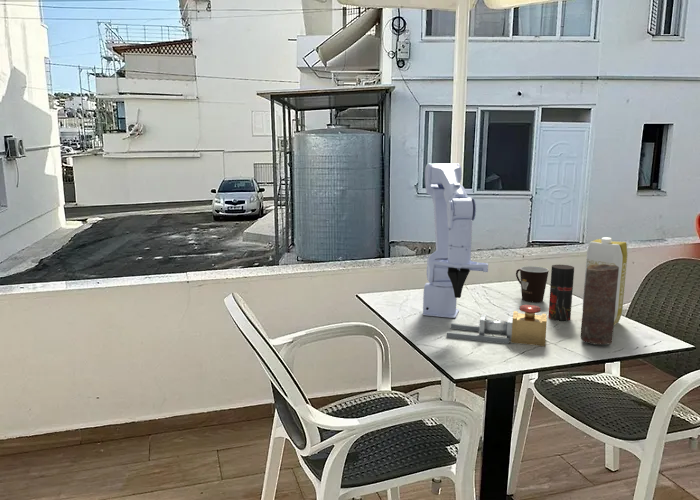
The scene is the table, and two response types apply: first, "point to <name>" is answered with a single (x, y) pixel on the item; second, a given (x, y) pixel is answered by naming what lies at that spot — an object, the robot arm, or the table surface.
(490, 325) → the spool
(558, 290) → the deodorant
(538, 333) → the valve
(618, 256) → the juice carton
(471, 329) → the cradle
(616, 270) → the rock core sample
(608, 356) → the table surface
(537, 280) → the coffee mug
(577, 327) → the table surface
